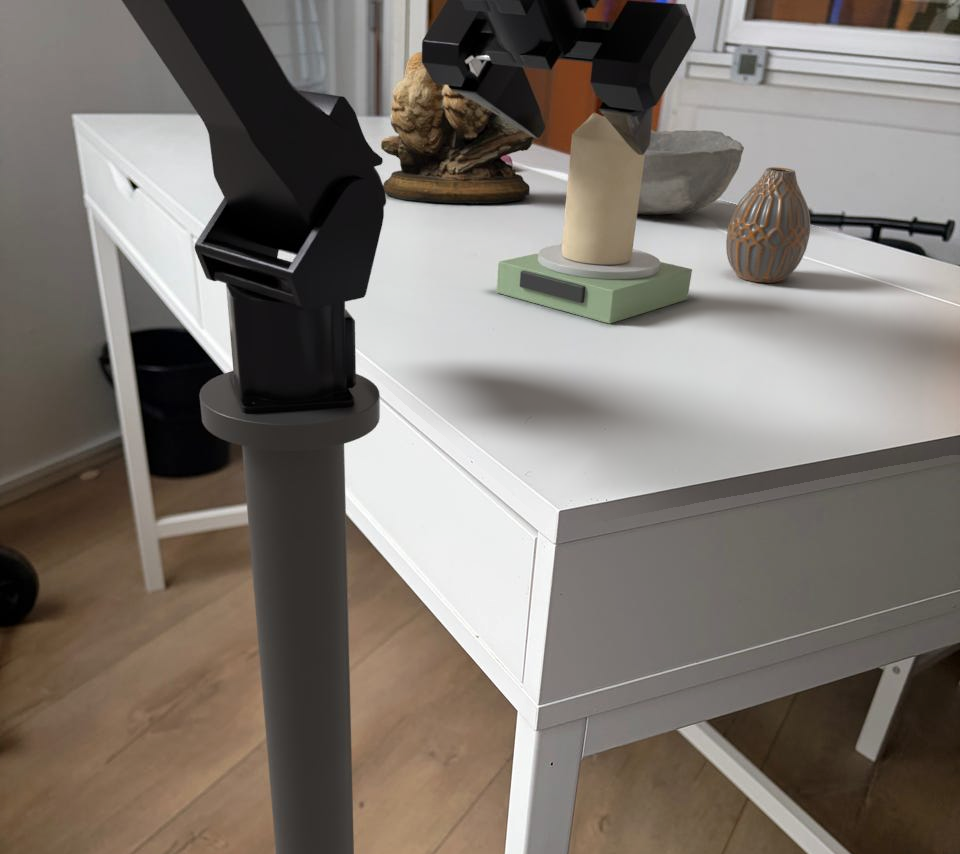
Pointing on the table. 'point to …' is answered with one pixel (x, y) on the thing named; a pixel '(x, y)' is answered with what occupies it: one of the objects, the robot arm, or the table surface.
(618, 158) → the candle
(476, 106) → the owl figurine
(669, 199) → the bowl
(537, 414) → the table surface
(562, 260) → the scale
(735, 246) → the vase
